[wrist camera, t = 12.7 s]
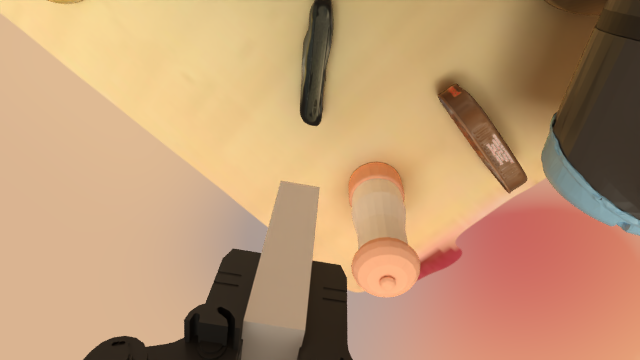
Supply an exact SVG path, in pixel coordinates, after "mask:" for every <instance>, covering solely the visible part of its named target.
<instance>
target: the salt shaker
mask: <svg viewBox="0 0 640 360" xmlns="http://www.w3.org/2000/svg"><path fill="white" fill-rule="evenodd" d="M349 202H350V205H351V207H352V219H353V223H354V226H355V230H356V233H357V236H358V251H357V252H356V254H355V256H354V258H353V261H352V265H351V267H352V274H353V276H354V278H355V280H356V282H357V284H358V285H359V286H360V287H362V288H363V289H364V290H365V291H366V292H368V293H370V294H372V295H375V296H379V297H394V296H397V295H401V294H403V293H404V292H406V291H408V290H409V289H410V288H411V287H412V286H413V285H414V283H415V282H416V281H417V278H418V276H419V273H420V260H419V258H418V255H417V253H416V252H415V251H414V250H413V249H412V248H411V247H410V246H409V245H408V242H407V237H406V232H405V220H406V210H405V205H404V190H403V186H402V182H401V179H400V176H399V174H398V172H397V171H396V170H395V169H394V168H393V167H391V166H389V165H387V164H385V163H379V162H374V163H367V164H365V165H362V166H360V167H359V168H358V169H356V170H355V171H354V173H353V174H352V176H351V177H350V181H349Z"/></svg>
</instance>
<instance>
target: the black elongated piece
mask: <svg viewBox="0 0 640 360" xmlns="http://www.w3.org/2000/svg"><path fill="white" fill-rule="evenodd" d="M332 35H333V9H332V2H331V0H315V1H314V3H313V5H312V7H311V10H310V17H309V28H308V31H307V34H306V36H305V39H304V43H303V57H302V80H301V98H300V115H301V117H302V119H303V121H304V122H305V123H307V124H309V125H312V126H318V125H319V124H320V122H321V119H322V111H323V96H324V85H325V81H326V65H327V61H328V57H329V53H330V48H331V43H332Z"/></svg>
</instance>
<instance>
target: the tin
mask: <svg viewBox="0 0 640 360" xmlns="http://www.w3.org/2000/svg"><path fill="white" fill-rule="evenodd" d="M438 98H439V100H440V102H441V103H442V105H443V106H444V107H445V109H446V110H447V112H448V113H449V115H450V116H451V118H452V119H453V120H454V122H455V123H456V125H457V126H458V127H459V129H460V130H461V132H462V133H463V134H464V136H465V137H466V139H467V140H468V142H469V143H470V144H471V146H472V147H473V149H474V150H475V151H476V153H477V154H478V156H479V157H480V158H481V160H482V161H483V162H484V164H485V165H486V166H487V168H488V169H489V170H490V171H491V173H492V174H493V175H494V176H495V178H496V179H497V180H498V181H499V182H500V184H501V185H502V186H503V187H504V189H505V190H506V191H507V192H508V193H511V191H513V190H514V189H516V188H518V187H519V186H521V185H522V184H524V183H525V182H526V181H527V176H526V174H525V172H524V171H523V169H522V167H521V166H520V164H519V163H518V161H517V160H516V158H515V156H514V155H513V153H512V152H511V150H510V149H509V147H508V146H507V144H506V143H505V141H504V140H503V138H502V137H501V135H500V134H499V132H498V131H497V129H496V128H495V127H494V125H493V124H492V122H491V121H490V119H489V118H488V116H487V115H486V114H485V112H484V111H483V110H482V108H481V107H480V106H479V105H478V103H477V102H476V101H475V100H474V99H473V97H472V96H471V95H470V94H469V93H468V92H466V91H465V90H463V89H462V88H460V87H459V85H458V84H454V85H453V86H451V87H450V88H448V89H447V90H446V91H444V92H443V93H441V94H438Z"/></svg>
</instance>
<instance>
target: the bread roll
mask: <svg viewBox="0 0 640 360" xmlns="http://www.w3.org/2000/svg"><path fill="white" fill-rule="evenodd" d="M48 1H51V2H55V3H61V4H71V3H76V2H80V1H82V0H48Z"/></svg>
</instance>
